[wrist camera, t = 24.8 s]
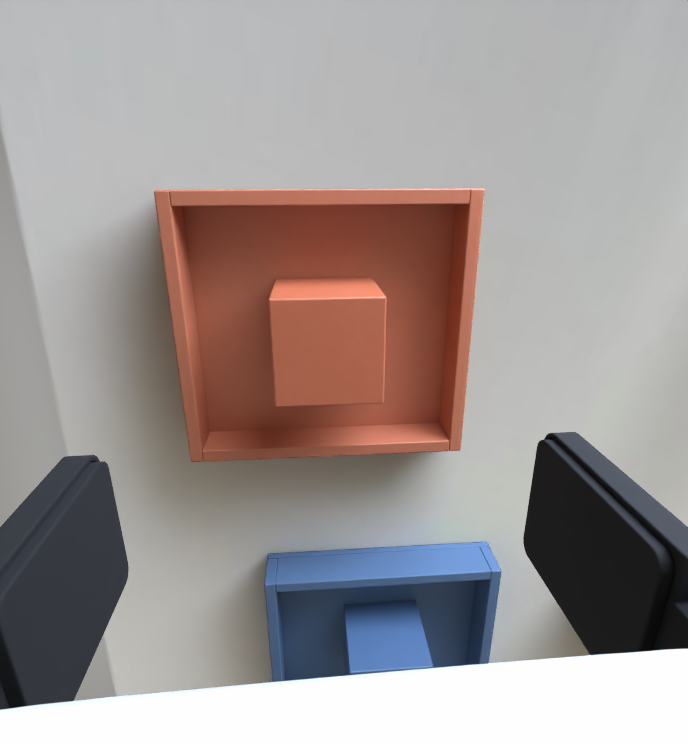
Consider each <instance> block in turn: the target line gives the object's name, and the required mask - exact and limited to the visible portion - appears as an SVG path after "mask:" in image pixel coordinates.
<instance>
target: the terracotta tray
mask: <svg viewBox="0 0 688 744" xmlns="http://www.w3.org/2000/svg"><path fill="white" fill-rule="evenodd" d="M154 195H155V203H156V210H157V217H158V225H159V232H160V239H161V246H162V254H163V261H164V268H165V276H166V283H167V290H168V298H169V305H170V312H171V319H172V327H173V334H174V341H175V349H176V356H177V363H178V370H179V378H180V385H181V392H182V400H183V407H184V414H185V422H186V429H187V436H188V443H189V451H190V458H191V462H199V461H203V460H204V461H226V460H249V459H273V458H296V457H320V456H343V455H367V454H390V453H414V452H438V451H458V450H460V449H461V438H462V427H463V416H464V406H465V395H466V384H467V373H468V363H469V352H470V341H471V330H472V319H473V309H474V298H475V287H476V276H477V265H478V255H479V244H480V233H481V222H482V212H483V201H484V189H302V190H156V191H154ZM339 277H372V279H373V280H374V281H375V283H376V284H377V285H378V287H379V288H380V289H381V291H382V292H383V294H384V295H385V296H386V298H387V301H386V339H385V377H384V402H383V403H379V404H351V405H323V406H296V407H276V406H275V401H274V385H273V369H272V353H271V337H270V321H269V305H268V300H269V297H270V294H271V292H272V289H273V286H274V283H275V280H276V279H284V278H339Z"/></svg>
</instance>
